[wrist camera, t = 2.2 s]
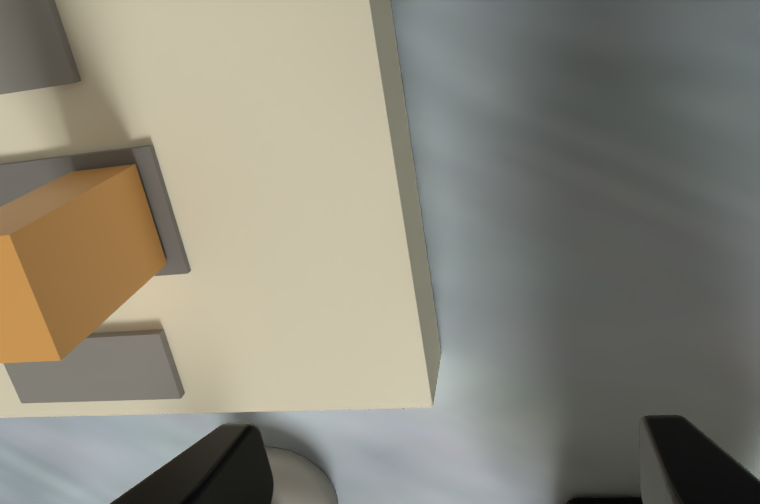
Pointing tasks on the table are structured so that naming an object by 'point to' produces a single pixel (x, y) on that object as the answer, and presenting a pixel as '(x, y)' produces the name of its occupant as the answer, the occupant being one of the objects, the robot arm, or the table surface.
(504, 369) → the table surface
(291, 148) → the breaker board
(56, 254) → the switch
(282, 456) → the cable post
